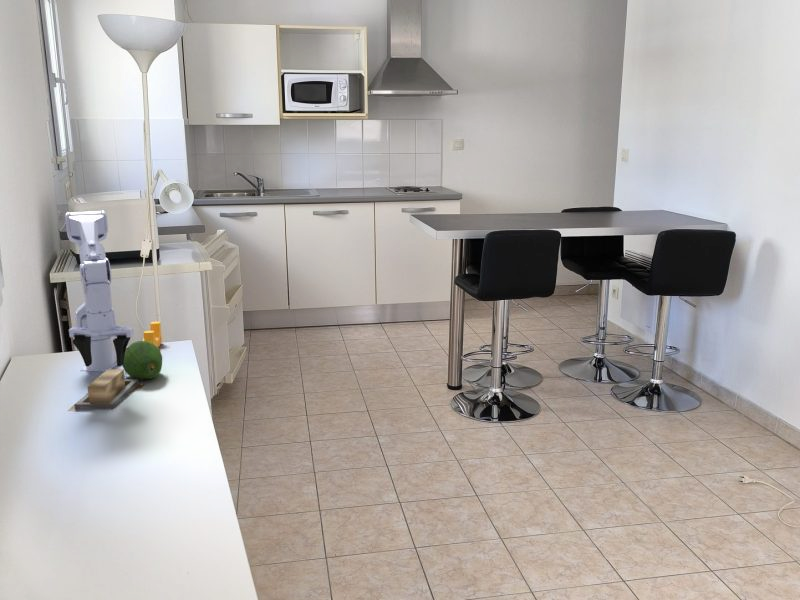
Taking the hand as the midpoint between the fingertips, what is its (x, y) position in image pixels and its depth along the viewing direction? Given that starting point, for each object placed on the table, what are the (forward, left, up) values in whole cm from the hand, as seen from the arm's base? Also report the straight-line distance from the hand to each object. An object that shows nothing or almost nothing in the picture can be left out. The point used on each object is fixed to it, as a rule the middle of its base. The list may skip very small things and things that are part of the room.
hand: (104, 365), depth 173 cm
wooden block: (0, 0, -8) cm, 8 cm away
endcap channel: (0, 0, -9) cm, 9 cm away
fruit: (-15, +4, -9) cm, 18 cm away
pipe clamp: (-42, -4, -9) cm, 44 cm away
